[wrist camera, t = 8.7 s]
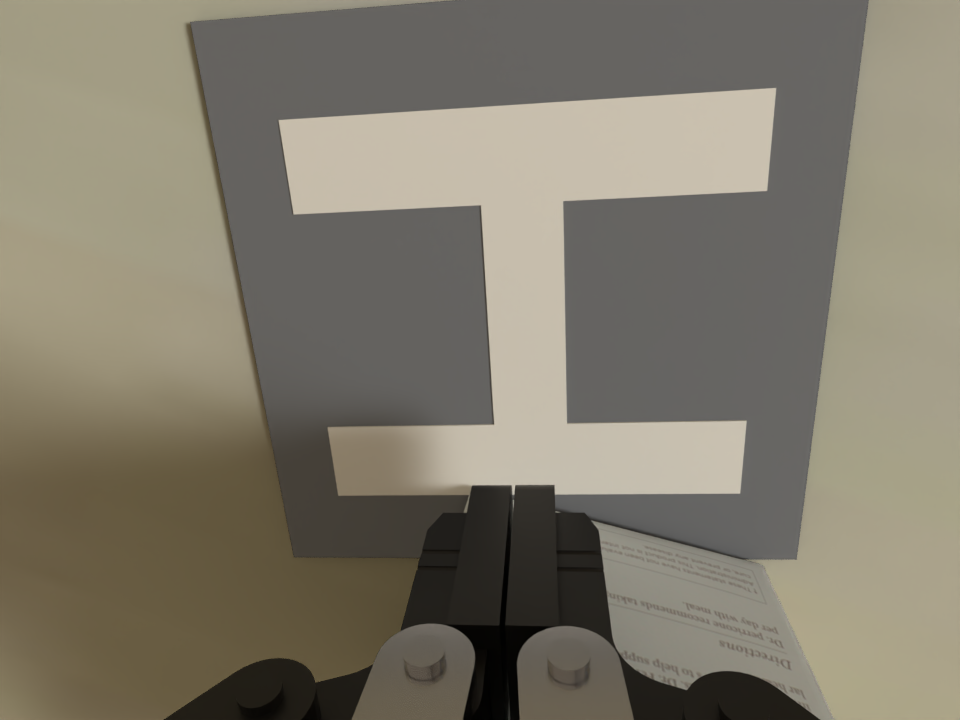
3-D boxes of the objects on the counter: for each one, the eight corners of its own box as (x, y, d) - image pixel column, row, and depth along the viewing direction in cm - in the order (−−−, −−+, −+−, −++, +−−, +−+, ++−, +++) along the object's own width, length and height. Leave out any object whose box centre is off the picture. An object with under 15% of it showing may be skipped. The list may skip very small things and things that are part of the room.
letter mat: (194, 23, 13) (189, 21, 13) (869, -33, 11) (874, -35, 11) (295, 553, 17) (293, 558, 17) (794, 555, 16) (797, 560, 16)
